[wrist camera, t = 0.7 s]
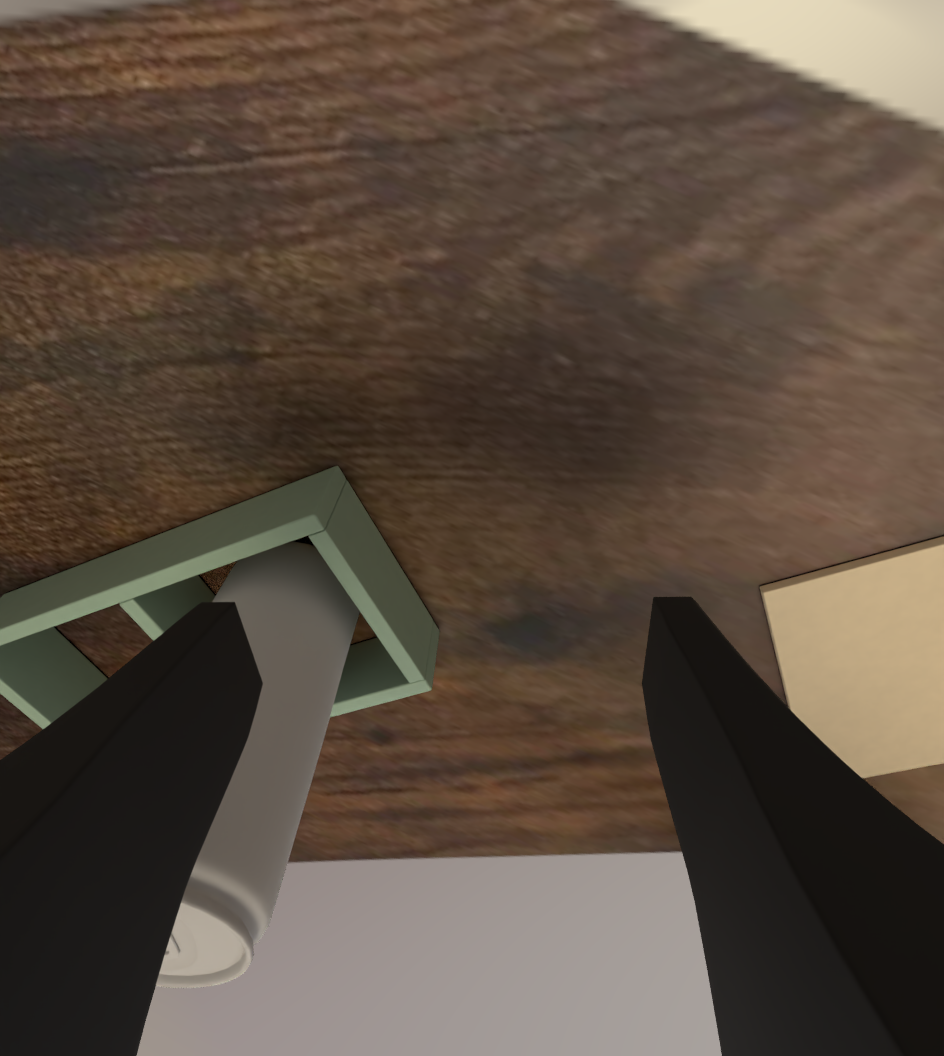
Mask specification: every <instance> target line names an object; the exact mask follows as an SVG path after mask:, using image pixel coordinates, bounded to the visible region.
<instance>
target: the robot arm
mask: <svg viewBox="0 0 944 1056" xmlns="http://www.w3.org/2000/svg"><path fill="white" fill-rule="evenodd" d="M262 686H263V682H262V679H261V676H260V673H259V670H258V667H257V664H256V662H255V659H254V656H253V653H252V650H251V647H250V644H249V641H248V638H247V636H246V633H245V630H244V627H243V624H242V621H241V618H240V615H239V612H238V610H237V607H236V604H235V602H201V603H200V604H198V605H197V606H196V607H194V608H193V609H192V610H191V611H189V612H188V613H187V614H185V615H184V616H183V617H182V618H181V619H179V620H178V621H177V622H176V623H174V624H173V625H172V626H171V627H170V628H168V629H167V630H166V631H165V632H164V633H163V634H161V635H160V636H159V637H158V638H157V639H155V640H154V641H153V642H152V643H151V644H149V645H148V646H147V647H146V648H145V649H144V650H142V651H141V652H140V653H139V654H138V655H136V656H135V657H134V658H133V659H131V660H130V661H129V662H128V663H127V664H125V665H124V666H123V667H122V668H121V669H119V670H118V671H117V672H116V673H115V674H113V675H112V676H111V677H110V678H108V679H107V680H106V681H105V682H104V683H102V684H101V685H100V686H99V687H98V688H96V689H95V690H94V691H92V692H91V693H90V694H89V695H87V696H86V697H85V698H83V699H82V700H81V701H79V702H78V703H77V704H76V705H74V706H73V707H72V708H70V709H69V710H68V711H66V712H65V713H64V714H63V715H61V716H60V717H59V718H57V719H56V720H55V721H53V722H52V723H51V724H50V725H48V726H47V727H46V728H44V729H43V730H42V731H40V732H39V733H38V734H36V735H35V736H34V737H32V738H31V739H30V740H28V741H27V742H25V743H24V744H23V745H21V746H20V747H18V748H17V749H16V750H14V751H13V752H11V753H10V754H8V755H7V756H6V757H4V758H3V759H1V760H0V1056H136V1055H137V1051H138V1047H139V1043H140V1040H141V1036H142V1032H143V1028H144V1025H145V1021H146V1017H147V1014H148V1010H149V1006H150V1003H151V1000H152V997H153V993H154V990H155V986H156V983H157V979H158V976H159V972H160V969H161V966H162V962H163V959H164V955H165V952H166V949H167V946H168V942H169V939H170V936H171V933H172V930H173V927H174V923H175V920H176V917H177V914H178V911H179V908H180V905H181V901H182V898H183V895H184V892H185V889H186V886H187V884H188V881H189V878H190V876H191V873H192V871H193V868H194V865H195V863H196V860H197V858H198V855H199V853H200V851H201V848H202V846H203V844H204V841H205V839H206V837H207V834H208V832H209V830H210V827H211V825H212V823H213V820H214V818H215V816H216V813H217V811H218V809H219V806H220V804H221V801H222V799H223V797H224V794H225V792H226V790H227V787H228V785H229V783H230V780H231V778H232V776H233V773H234V771H235V768H236V766H237V764H238V761H239V759H240V756H241V754H242V752H243V749H244V747H245V744H246V742H247V739H248V737H249V733H250V730H251V726H252V723H253V719H254V716H255V713H256V709H257V705H258V701H259V697H260V693H261V689H262ZM642 686H643V693H644V699H645V706H646V713H647V719H648V725H649V731H650V737H651V742H652V745H653V749H654V753H655V756H656V760H657V764H658V767H659V771H660V775H661V778H662V782H663V785H664V789H665V793H666V796H667V800H668V803H669V807H670V810H671V814H672V817H673V821H674V825H675V828H676V832H677V835H678V839H679V842H680V846H681V849H682V853H683V856H684V860H685V863H686V867H687V871H688V875H689V879H690V883H691V888H692V892H693V896H694V900H695V905H696V911H697V916H698V921H699V927H700V932H701V937H702V943H703V948H704V954H705V959H706V964H707V970H708V976H709V982H710V988H711V993H712V999H713V1005H714V1011H715V1016H716V1022H717V1028H718V1034H719V1040H720V1046H721V1052H722V1056H944V844H943V843H941V842H940V841H939V840H937V839H936V838H935V837H933V836H932V835H931V834H929V833H928V832H927V831H925V830H924V829H923V828H921V827H920V826H919V825H918V824H916V823H915V822H914V821H913V820H911V819H910V818H909V817H908V816H906V815H905V814H904V813H903V812H901V811H900V810H899V809H898V808H896V807H895V806H894V805H893V804H892V803H890V802H889V801H888V800H887V799H886V798H885V797H883V796H882V795H881V794H880V793H879V792H878V791H876V790H875V789H874V788H873V787H872V786H871V785H869V784H868V783H867V782H866V781H865V780H864V779H862V778H861V777H860V776H859V775H858V774H857V773H856V772H854V771H853V770H852V769H851V768H850V767H849V766H848V765H847V764H846V763H845V762H843V761H842V760H841V759H840V758H839V757H838V756H837V755H836V754H835V753H834V752H833V751H832V750H831V749H830V748H829V747H827V746H826V745H825V744H824V743H823V742H822V741H821V740H820V739H819V738H818V737H817V736H816V735H815V734H814V733H813V732H812V731H811V730H810V729H809V728H808V727H807V726H806V725H805V724H804V723H803V722H802V721H801V720H800V719H799V718H798V717H797V716H796V715H795V714H794V713H793V712H792V711H791V710H790V709H789V708H788V707H787V706H786V705H785V704H784V703H783V702H782V700H781V699H780V698H779V697H778V696H777V695H776V694H775V693H774V692H773V691H772V690H771V689H770V687H769V686H768V685H767V684H766V683H765V682H764V681H763V680H762V679H761V678H760V677H759V676H758V674H757V673H756V672H755V671H754V670H753V669H752V668H751V667H750V666H749V664H748V663H747V662H746V661H745V660H744V659H743V658H742V656H741V655H740V654H739V653H738V652H737V651H736V649H735V648H734V647H733V646H732V645H731V644H730V642H729V641H728V640H727V639H726V638H725V636H724V635H723V634H722V633H721V632H720V630H719V629H718V628H717V627H716V626H715V624H714V623H713V622H712V621H711V619H710V618H709V617H708V616H707V615H706V613H705V612H704V611H703V610H702V608H701V607H700V606H699V605H698V603H697V602H696V601H695V600H694V599H693V598H692V597H653V604H652V612H651V619H650V627H649V634H648V642H647V649H646V657H645V665H644V672H643V680H642Z"/></svg>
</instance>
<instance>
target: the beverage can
mask: <svg viewBox="0 0 944 1056" xmlns="http://www.w3.org/2000/svg"><path fill="white" fill-rule="evenodd" d="M212 602H235V604H236V607H237V610H238V612H239V615H240V618H241V621H242V624H243V627H244V630H245V633H246V636H247V638H248V641H249V644H250V647H251V650H252V653H253V656H254V659H255V662H256V664H257V667H258V670H259V673H260V676H261V679H262V682H263V686H262V689H261V693H260V697H259V701H258V705H257V709H256V713H255V716H254V719H253V723H252V726H251V730H250V733H249V737H248V739H247V742H246V744H245V747H244V749H243V752H242V754H241V756H240V759H239V761H238V764H237V766H236V768H235V771H234V773H233V776H232V778H231V780H230V783H229V785H228V787H227V790H226V792H225V794H224V797H223V799H222V801H221V804H220V806H219V809H218V811H217V813H216V816H215V818H214V820H213V823H212V825H211V827H210V830H209V832H208V834H207V837H206V839H205V841H204V844H203V846H202V848H201V851H200V853H199V855H198V858H197V860H196V863H195V865H194V868H193V871H192V873H191V876H190V878H189V881H188V884H187V886H186V889H185V892H184V895H183V898H182V901H181V905H180V908H179V911H178V914H177V917H176V920H175V923H174V927H173V930H172V933H171V936H170V939H169V942H168V946H167V949H166V952H165V955H164V959H163V962H162V966H161V969H160V972H159V976H158V979H157V983H156V986H161V987H168V988H170V987H171V988H198V987H207V986H215V985H219V984H222V983H225V982H229V981H232V980H234V979H235V978H237V977H239V976H240V975H242V974H243V973H245V971H246V970H247V968H248V967H249V965H250V963H251V962H252V959H253V956H254V951H253V946H254V945H255V944H257V943H258V942H259V941H260V939H261V938H262V936H263V934H264V933H265V931H266V929H267V928H268V926H269V923H270V920H271V917H272V914H273V910H274V906H275V903H276V900H277V897H278V893H279V890H280V887H281V883H282V880H283V876H284V873H285V870H286V866H287V863H288V859H289V856H290V853H291V849H292V846H293V842H294V839H295V836H296V832H297V829H298V826H299V822H300V819H301V815H302V812H303V809H304V805H305V802H306V798H307V795H308V792H309V788H310V785H311V781H312V778H313V775H314V771H315V768H316V764H317V761H318V757H319V754H320V750H321V747H322V743H323V740H324V736H325V733H326V729H327V726H328V722H329V718H330V715H331V711H332V708H333V704H334V700H335V697H336V693H337V689H338V686H339V682H340V679H341V675H342V671H343V668H344V664H345V661H346V657H347V654H348V650H349V647H350V643H351V640H352V637H353V633H354V630H355V627H356V623H357V620H358V616H359V613H360V611H359V609H358V608H357V606H356V605H355V603H354V602H353V601H352V599H351V598H350V596H349V595H348V593H347V592H346V590H345V589H344V588H343V586H342V585H341V583H340V582H339V580H338V579H337V577H336V576H335V574H334V573H333V572H332V570H331V569H330V567H329V566H328V564H327V563H326V561H325V560H324V559H323V557H322V556H321V554H320V553H319V551H318V550H317V548H316V547H315V546H312V545H310V544H305V543H299V542H293V541H291V542H288V543H285V544H283V545H280V546H277V547H274V548H272V549H269V550H266V551H263V552H260V553H258V554H255V555H252V556H249V557H246V558H244V559H241V560H238V561H237V562H236V564H235V565H234V566H233V568H232V569H231V571H230V573H229V574H228V576H227V578H226V579H225V581H224V583H223V584H222V586H221V588H220V589H219V591H218V593H217V594H216V596H215V598H214V599H213V601H212Z"/></svg>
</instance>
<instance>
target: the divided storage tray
mask: <svg viewBox="0 0 944 1056" xmlns="http://www.w3.org/2000/svg"><path fill="white" fill-rule="evenodd" d="M308 535H309V538H310V540H311V541H312V543H313V544H314V545H315V547H316V548H317V550H318V551H319V553H320V554H321V556H322V557H323V559H324V560H325V561H326V563H327V564H328V566H329V567H330V569H331V570H332V572H333V573H334V574H335V576H336V577H337V579H338V580H339V582H340V583H341V585H342V586H343V588H344V589H345V590H346V592H347V593H348V595H349V596H350V598H351V599H352V601H353V602H354V603H355V605H356V606H357V608H358V609H359V611H360V612H361V614H362V615H363V617H364V618H365V619H366V621H367V622H368V624H369V625H370V627H371V628H372V630H373V631H374V632H375V634H376V635H377V637H378V638H374V639H371V640H368V641H364V642H361V643H358V644H354V645H351V646H350V647H349V650H348V654H347V657H346V661H345V664H344V668H343V671H342V675H341V679H340V682H339V686H338V689H337V693H336V697H335V700H334V704H333V708H332V711H331V715H330V717H333V716H337V715H340V714H344V713H348V712H352V711H355V710H359V709H363V708H367V707H370V706H374V705H378V704H382V703H385V702H389V701H393V700H397V699H400V698H404V697H408V696H412V695H416V694H419V693H423V692H427V691H430V690H432V684H433V676H434V669H435V662H436V654H437V647H438V639H439V629H438V628H437V626H436V624H435V623H434V622H433V619H432V617H431V616H430V614H429V612H428V611H427V609H426V608H425V606H424V604H423V603H422V601H421V599H420V598H419V596H418V595H417V593H416V591H415V590H414V588H413V586H412V585H411V583H410V582H409V580H408V578H407V577H406V575H405V573H404V572H403V570H402V569H401V567H400V565H399V564H398V562H397V560H396V559H395V557H394V556H393V554H392V552H391V551H390V549H389V547H388V546H387V544H386V543H385V541H384V539H383V538H382V536H381V534H380V533H379V531H378V529H377V528H376V526H375V525H374V523H373V521H372V520H371V518H370V516H369V515H368V513H367V512H366V510H365V508H364V507H363V505H362V503H361V502H360V500H359V499H358V497H357V495H356V494H355V492H354V490H353V489H352V487H351V486H350V484H349V482H348V481H347V480H346V478H345V476H344V475H343V473H342V471H341V470H340V468H339V467H338V466H335V467H332V468H329V469H327V470H324V471H322V472H319V473H316V474H314V475H311V476H309V477H306V478H304V479H301V480H298V481H296V482H293V483H291V484H288V485H285V486H283V487H280V488H278V489H275V490H273V491H270V492H267V493H265V494H262V495H260V496H257V497H254V498H252V499H249V500H247V501H244V502H242V503H239V504H236V505H234V506H231V507H229V508H226V509H223V510H221V511H218V512H216V513H213V514H210V515H208V516H205V517H203V518H200V519H198V520H195V521H192V522H190V523H187V524H185V525H182V526H179V527H177V528H174V529H172V530H169V531H167V532H164V533H161V534H159V535H156V536H154V537H151V538H148V539H146V540H143V541H141V542H138V543H136V544H133V545H130V546H128V547H125V548H123V549H120V550H117V551H115V552H112V553H110V554H107V555H105V556H102V557H99V558H97V559H94V560H92V561H89V562H86V563H84V564H81V565H79V566H76V567H73V568H71V569H68V570H66V571H63V572H61V573H58V574H55V575H53V576H50V577H48V578H45V579H42V580H40V581H37V582H35V583H32V584H30V585H27V586H24V587H22V588H19V589H17V590H14V591H11V592H9V593H6V594H4V595H3V596H2V597H1V598H0V694H2V695H3V696H4V697H5V698H6V699H8V700H9V701H10V702H11V703H12V704H14V705H15V706H16V707H17V708H18V709H20V710H21V711H22V712H23V713H24V714H26V715H27V716H28V717H29V718H30V719H32V720H33V721H34V722H35V723H36V724H38V725H39V726H40V727H41V728H42V729H44V728H46V727H47V726H48V725H50V724H51V723H52V722H53V721H55V720H56V719H57V718H59V717H60V716H61V715H63V714H64V713H65V712H66V711H68V710H69V709H70V708H72V707H73V706H74V705H76V704H77V703H78V702H79V701H81V700H82V699H83V698H85V697H86V696H87V695H89V694H90V693H91V692H92V691H94V690H95V689H96V688H98V687H99V686H100V685H101V684H102V683H104V682H105V681H106V680H107V679H108V678H107V677H105V676H104V675H103V674H102V673H101V672H100V671H99V670H98V669H97V668H96V667H95V666H94V665H93V664H92V663H91V662H90V661H89V660H88V659H87V658H86V657H85V656H83V655H82V654H81V653H80V652H79V651H78V650H77V649H76V648H75V647H74V646H73V645H72V644H71V643H70V642H69V641H68V640H67V639H66V638H65V637H64V636H63V635H61V634H60V633H59V632H58V631H57V630H56V629H55V628H54V626H57V625H59V624H62V623H65V622H68V621H70V620H73V619H76V618H79V617H82V616H84V615H87V614H90V613H93V612H96V611H98V610H101V609H104V608H107V607H110V606H112V605H115V604H118V603H120V606H121V607H122V608H123V609H124V610H125V611H126V612H127V613H128V614H129V615H130V617H131V618H132V619H133V620H134V621H135V622H136V623H137V624H138V625H139V626H140V627H141V628H142V629H143V630H144V631H145V632H146V633H147V634H148V635H149V637H150V638H151V639H152V640H153V641H154V640H155V639H157V638H158V637H159V636H160V635H161V634H163V633H164V632H165V631H166V630H167V629H168V628H170V627H171V626H172V625H173V624H174V623H176V622H177V621H178V620H179V619H181V618H182V617H183V616H184V615H185V614H187V613H188V612H189V611H191V610H192V609H193V608H194V607H196V606H197V605H198V604H200V603H201V602H212V601H213V599H214V598H215V595H214V594H213V593H212V591H211V590H210V589H209V588H208V587H207V586H206V584H205V583H204V582H203V581H202V580H201V578H200V577H199V576H198V575H199V574H202V573H205V572H207V571H210V570H213V569H216V568H218V567H221V566H224V565H227V564H230V563H232V562H235V561H238V560H241V559H244V558H246V557H249V556H252V555H255V554H258V553H260V552H263V551H266V550H269V549H272V548H274V547H277V546H280V545H283V544H285V543H288V542H291V541H294V540H297V539H299V538H302V537H305V536H308Z"/></svg>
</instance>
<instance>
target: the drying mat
mask: <svg viewBox="0 0 944 1056" xmlns="http://www.w3.org/2000/svg"><path fill="white" fill-rule="evenodd" d="M760 591H761V595H762V600H763V604H764V608H765V612H766V616H767V620H768V625H769V629H770V633H771V637H772V641H773V645H774V650H775V654H776V658H777V662H778V666H779V670H780V675H781V679H782V683H783V687H784V691H785V695H786V700H787V704H788V708H789V709H790V710H791V711H792V712H793V713H794V714H795V715H796V716H797V717H798V718H799V719H800V720H801V721H802V722H803V723H804V724H805V725H806V726H807V727H808V728H809V729H810V730H811V731H812V732H813V733H814V734H815V735H816V736H817V737H818V738H819V739H820V740H821V741H822V742H823V743H824V744H825V745H826V746H827V747H829V748H830V749H831V750H832V751H833V752H834V753H835V754H836V755H837V756H838V757H839V758H840V759H841V760H842V761H843V762H845V763H846V764H847V765H848V766H849V767H850V768H851V769H852V770H853V771H854V772H856V773H857V774H858V775H859V776H860V777H861V778H867V777H872V776H878V775H883V774H888V773H893V772H899V771H904V770H909V769H915V768H920V767H925V766H931V765H936V764H941V763H944V536H943V537H939V538H936V539H932V540H928V541H925V542H921V543H917V544H914V545H910V546H906V547H903V548H899V549H895V550H892V551H888V552H884V553H881V554H877V555H873V556H870V557H866V558H862V559H859V560H855V561H851V562H848V563H844V564H840V565H837V566H833V567H829V568H826V569H822V570H818V571H815V572H811V573H807V574H804V575H800V576H796V577H793V578H789V579H785V580H782V581H778V582H774V583H771V584H767V585H763V586H760Z"/></svg>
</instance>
